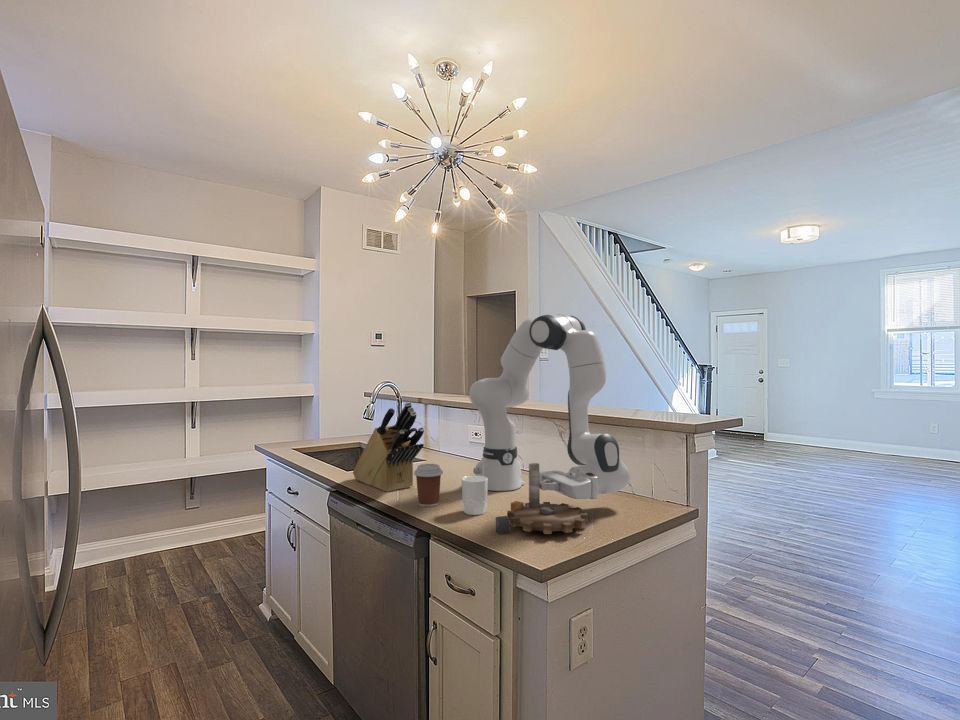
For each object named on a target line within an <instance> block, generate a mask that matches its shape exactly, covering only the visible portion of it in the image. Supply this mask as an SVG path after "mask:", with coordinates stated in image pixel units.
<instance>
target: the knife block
mask: <svg viewBox="0 0 960 720" xmlns="http://www.w3.org/2000/svg"><path fill="white" fill-rule="evenodd" d="M395 413H396V411H395V409H394V408H389V409H387V412H386V413H385V415H384V417H383V419H382V422H381V425H380V426H379V427H375V428H374V429H373V432H372V434H371V436H370V438H369V440H368V441H367V443H366V445H365V448H364V449H363V450H362V451H363V452H362V453H361V455H360V457H359V459H358V461H357V463H356V466H355V467H354V469H353V471H352V474H353V476H354V479H355V480H357V481H359V482H361V483H364V484H365V485H368V486H371V487H374V488H376V489H378V490H381V491H383V492H385V491H386V493H387V492H391V491H395V490H401V489H404V488H407V489H409V488H411V487H413V486H414V483H413V482H414V481H413V480H414V471H413V470H414V465H413V464H414V459H415V458H416V457H418V455H419V453H420V452H421V450H422V449H423V448H424V446H425V445H424V444H423V443H419V441H420V439H421V438H422V437H423V435H424V433H425V429H424V427H419V428H418V429H417V428H416V427H413V426H414V423H415V422H416V419H417V416H418V415H417V412H416V411H415V408H414V407H413V406H412V402H410V401H408V402H405V404H404V407H403V408H402V410H401V411H400V413H399V415H398V418H397V420H396V423H395V424H393V425H389V423H390V421H391V420H392V418H393V416H394V415H395ZM413 432H414V434H413V435H412V436H410V435H411V434H412V433H413ZM418 443H419V444H418Z"/></svg>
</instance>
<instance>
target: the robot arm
mask: <svg viewBox="0 0 960 720" xmlns="http://www.w3.org/2000/svg"><path fill="white" fill-rule="evenodd" d="M543 349H545V350H552V351H559V350H561V351H562V352H563V353H564V354H565V356H566V360H567V367H568V373H569V387H568V388H569V389H568V393H567V409H568V427H569V432H568V433H569V434H568V441H567V454H568V457H569V458H570V460H571V461H572V463H574V464H576V465H577V466H573V467H571V468H569V470H568V472H564V471H560V470H544V471H543V470H541V471H539V487H540V490H542V491H553V492H557V493H559V494H561V495H564V496H566V497H568V498H571V499H573V500H583V499H584V500H586V499H589V500H598V497H599V494H601V495H605V494H611V493H615V492H619V491H621V490H623V489H625V488H626V487H627V485H628V484H629V481H630V470H629V468H628V467H627V465H626V464H625V463H624V462H623V460H622V458H621V455H620V448H619V443H618V441H617V440H616V438H615V437H614V436H613V435H611V434H609V433H591V432H590V430H589V414H588V413H589V412H588V406H589V403H590V401H591V400H592V398H593V397H594V396H595V395H597V394H598V393H599V392H600V391H601V390H602V389H603V388H604V386H605V384H606V382H607V381H606V380H607V372H606V364H605V359H604V355H603V351H602V347H601V345H600V342H599V339H598V336H597V335H596V334H595V332H593V331H591V330H587V329H586V325H585V324H584V322H583V321H582V320H581V319H580V318H578V317H576V316H575V315H574V316H573V315H568V314H560V313H559V314H558V313H557V314H543V315H540V316H538V317H536V318H534V317H532V318H531V317H530V318H526V319H524V321H523V322H522V323H521V324H520V325H519V326H518V328H517V329H516V331H515V332H514V333H513V335H512V336H511V338H510V341H509V342H508V344H507V346H506V348H505V350H504V351H503V353H502V356H501V357H500V364H501V367H502V368H503V369H502V370H503V371H502V373H501V375H500V376H499V377H488V378H487V377H486V378H482V379H479V380H476V381H475V382H473V383H472V384H471V386H470V389H469V400H470V402H471V404H472V405H473V406H474V407H475V408H476V409H477V410H478V411H479V413H480V416H481V419H482V422H483V426H484V446H483V450H482V458H481V459H480V460H479V461H478V463H476V465H475V467H473V474H474V476H484V477H487V478H488V489H487V491H496V492H506V491H513V490H514V491H515V490H517V489H518V490H519V488H521V487H522V486H524V485H525V481H524V480H523V479H522V472H521V471H522V470H521V462H520V461H519V460H518V458H517V457H518V448H517V443H516V442H517V439H516V438H517V436H516V435H517V434H516V433H517V432H516V431H517V429H516V424H515V423H514V421H513V420H511V419H510V418H509V416H508V412H507V408H515V407H518V406H520V405H521V404H524V403H526V401H527V400H528V399H529V395H530V388H529V386H528V378H529V375H530V373H531V371H532V369H533V366H534V365H535V363H536V362H537V360H538V358H539V356H540V354H541V352H542V350H543Z"/></svg>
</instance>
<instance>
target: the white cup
mask: <svg viewBox="0 0 960 720" xmlns="http://www.w3.org/2000/svg"><path fill="white" fill-rule="evenodd" d="M487 489H488V478H487V477H484V476H475V475H467V476H463V477H461V493H462V496H461V497H462V504H463V506H462V509H463V513H464V514H465V513H466V515H468V516H469V515H471V516H480V515H483V514H486V513H485V512H487V502H488V490H487Z"/></svg>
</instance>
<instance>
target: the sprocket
mask: <svg viewBox="0 0 960 720" xmlns="http://www.w3.org/2000/svg"><path fill="white" fill-rule="evenodd" d="M539 472H540V464H539V463H537V462H536V463H535V462H530V463H528V502H522V501H516V500H514V501H512V502H510V510H507V513H506V516H507V517H509V526H512V527H514V528H515V527H521V528H522V531H525V532H529V533H531V532H533V531H539V532H543V534H544V535H545V534H546V535H552V533H553V532H563V533H565V534H568V533H573V529H575V528H577V529H581V530H582V529H584V528H586V524H587V523H589V521H588V518H589V517H588V513H587V512H583V509H582V508H581V507H579V506H575V507H572V506H569V503H565V502H564V503H563V502H562V503H560V504H558V503H557V504H556V503H551V502H550V501H542V503H541V501H540V500H541V499H540V498H541V497H540V496H541V495H540V493H541V492H540V490H541V489H540V487H539Z"/></svg>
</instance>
